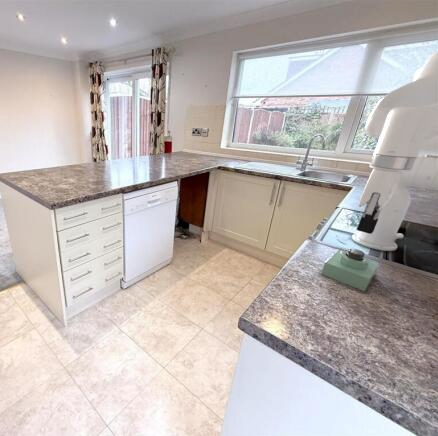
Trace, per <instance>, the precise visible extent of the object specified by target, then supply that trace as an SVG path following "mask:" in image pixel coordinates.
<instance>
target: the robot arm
mask: <svg viewBox="0 0 438 436" xmlns="http://www.w3.org/2000/svg"><path fill="white" fill-rule="evenodd" d="M364 126H365V128H364V131H365V134H366V135H367V136H368V137H369V138H373V139H378V141H377V144H376V146H375V150H374V152H373V155H372V158H371V160H370V163H369V166H368V168H371V169H372V171H371V173H370V174H369V177H368V179H367V181H366V184H365V187H364V189H363V191H362V194H361V196H360V198H359V200H358V203H357V206H358V208H362V207H364V206H365V207H364V209H363V210H364V211H363V214H362V216H360V217H361V218H360V220H359V222H358V225H357V228H356V230H357V231H358V232H355V233H353V234H352V236H351V239H352V240H353V241H354V242H355V243H356V244H359V245H360V246H363V247H366V248H370V249H373V250H377V251H382V252H393V251H396V250H397V249H398V244H397V243H396V242H395V240H400V239H401V240H402V239H404V237H405V236H404V234H403V233H399V232H398V231H399V229H400V227H401V225H402V223H403V221H404V218H405V216H406V214H407V211H408V209H409V207H410V205H411V203H412V202H411V201H412V197H411V195H410V193H409V191H408V190H407V187H408V188H417V189H422V190H430V191H437V192H438V50H437V51H436V52H434V53H433V54H432V55H430V57H428V58H427V60H426V61H425V62H424V64H423V65H422V66H420V67H419V69H417V71H416V72H415V74H414V77H413V80H412V81H410V82H407V83H406V84H404V85H402V86H400V87H398V88H396V89H393V90H392V91H390V92H388V93H386V94H385V95H384V96H383V97H382V98H380V99H379V101H378V102H377V104H375V107H374V108H373V110H372V111H371V113H370V115H369V116H368V117H367V120H366V123H365V125H364ZM419 155H422V156H419ZM423 155H424V156H423ZM429 156H434V157H429Z"/></svg>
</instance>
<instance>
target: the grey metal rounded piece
mask: <svg viewBox="0 0 438 436" xmlns="http://www.w3.org/2000/svg"><path fill="white" fill-rule="evenodd" d="M347 251H348V253H347V255H346V256H347V257H349V258H351V259H354V260H358V261H362V260H363V258H364V256H366V254H365V252H364V251H362V250H360V249H357V248H348V250H347Z"/></svg>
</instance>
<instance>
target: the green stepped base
mask: <svg viewBox="0 0 438 436" xmlns="http://www.w3.org/2000/svg"><path fill="white" fill-rule="evenodd" d="M347 253H348V250H341V249H337V250H336V251H335V252H333V254H332V255H330V257H329V258H328V259H326V261H325V262H324V265H323V267H322V270H321V273H320V275H323V276H324V277H328V278H330V279H332V280H335V281H337V282H339V283H342V284H345V285H347V286H350V287H352V288H355V289H357V290H360V291H362V292H365V291H366V290H367V288H368V286H369V285H370V283H371V282H372V280H373V278H374V276H375V274H376V272H377V271H378V268H379V266H380V262H377V261H374V260H372V259H370V258H369V257H367V256H366V255H364V258H363V260H362V261H358V260H354V259H351V258H349V257H347V256H346V255H347Z"/></svg>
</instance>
